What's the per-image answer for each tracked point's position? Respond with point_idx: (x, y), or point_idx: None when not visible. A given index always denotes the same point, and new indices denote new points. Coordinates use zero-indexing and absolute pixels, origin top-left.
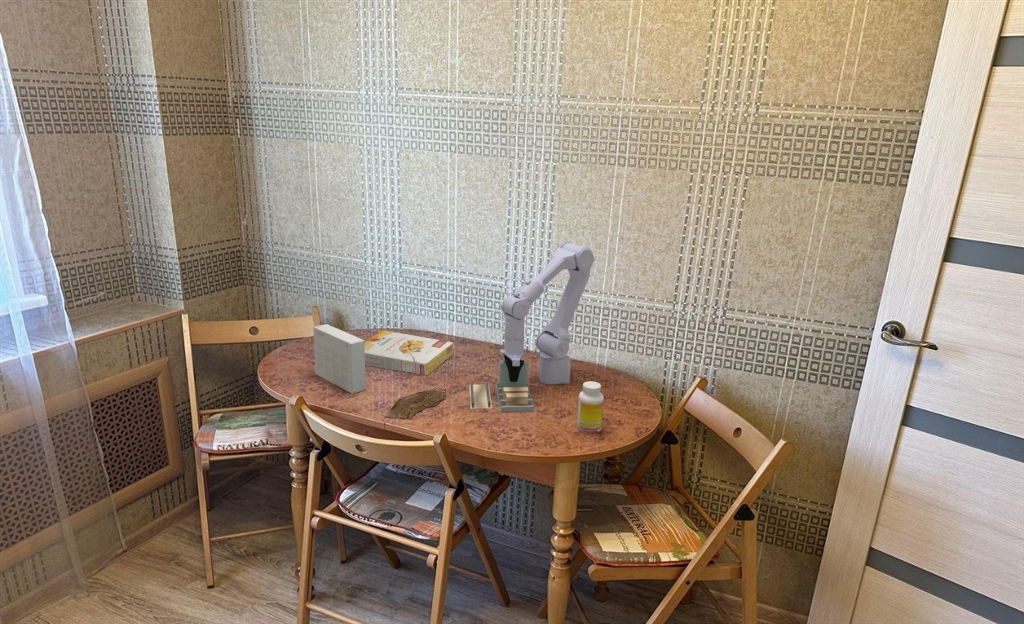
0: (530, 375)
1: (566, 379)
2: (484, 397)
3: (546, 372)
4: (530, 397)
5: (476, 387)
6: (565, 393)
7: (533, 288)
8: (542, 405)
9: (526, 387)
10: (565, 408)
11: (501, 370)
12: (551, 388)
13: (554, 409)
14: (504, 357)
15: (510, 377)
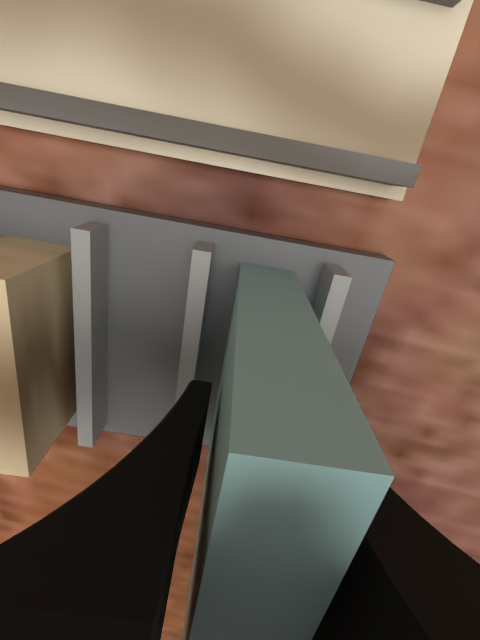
0: (451, 492)
1: None
2: (135, 84)
3: None
4: (110, 426)
5: (382, 46)
6: (185, 560)
7: None
8: (56, 449)
9: (16, 469)
10: (25, 523)
11: (230, 370)
12: None
13: (11, 483)
14: (421, 630)
15: (174, 410)
